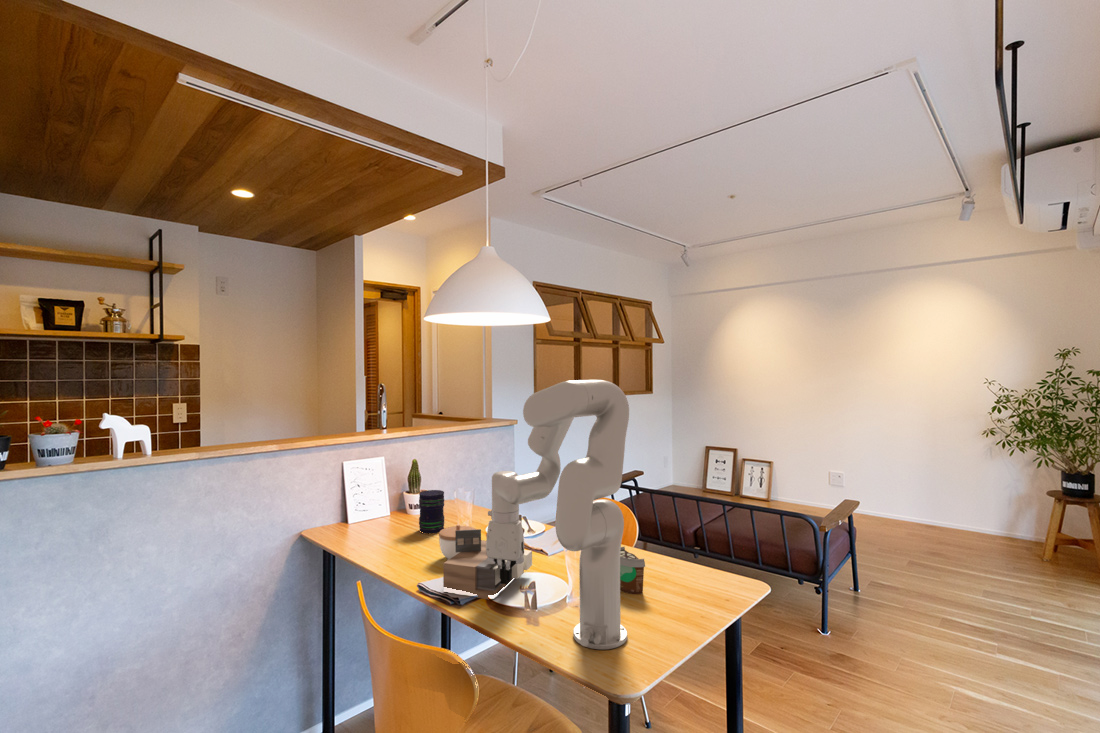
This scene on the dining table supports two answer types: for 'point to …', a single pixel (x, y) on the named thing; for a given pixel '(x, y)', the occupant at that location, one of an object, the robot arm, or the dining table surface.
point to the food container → (631, 573)
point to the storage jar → (431, 511)
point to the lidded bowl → (450, 540)
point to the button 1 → (496, 574)
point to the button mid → (517, 570)
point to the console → (471, 566)
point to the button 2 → (527, 559)
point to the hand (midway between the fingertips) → (505, 582)
